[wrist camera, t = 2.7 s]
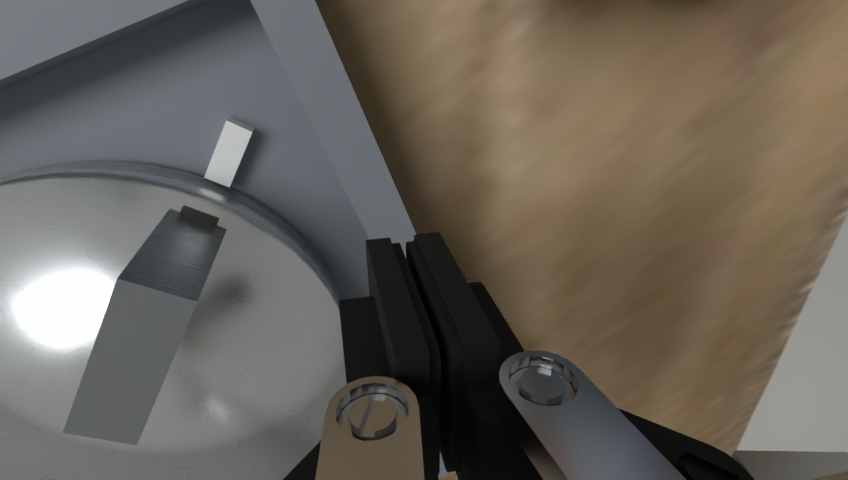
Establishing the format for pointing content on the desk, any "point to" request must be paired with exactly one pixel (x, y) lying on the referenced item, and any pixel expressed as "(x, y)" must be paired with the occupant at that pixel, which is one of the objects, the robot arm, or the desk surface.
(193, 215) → the dial
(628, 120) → the desk surface
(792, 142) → the desk surface
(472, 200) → the desk surface
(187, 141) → the square tray
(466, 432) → the robot arm
